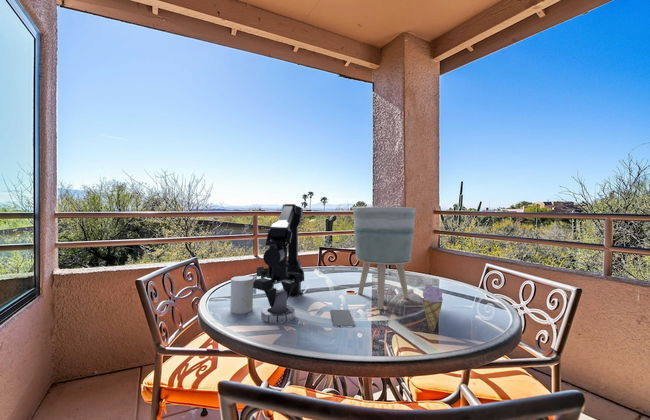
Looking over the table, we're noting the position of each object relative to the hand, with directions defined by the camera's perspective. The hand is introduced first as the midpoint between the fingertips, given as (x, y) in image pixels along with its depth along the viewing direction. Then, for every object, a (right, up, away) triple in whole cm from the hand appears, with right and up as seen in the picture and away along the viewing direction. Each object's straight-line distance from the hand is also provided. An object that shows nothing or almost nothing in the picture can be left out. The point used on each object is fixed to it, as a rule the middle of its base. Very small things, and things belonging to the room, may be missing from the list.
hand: (278, 304), depth 102 cm
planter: (+41, -6, +22) cm, 47 cm away
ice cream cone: (+51, -6, -9) cm, 53 cm away
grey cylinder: (-15, -4, +7) cm, 17 cm away
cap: (0, -2, 0) cm, 2 cm away
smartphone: (+23, -6, 0) cm, 23 cm away
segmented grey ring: (0, -5, 0) cm, 5 cm away
